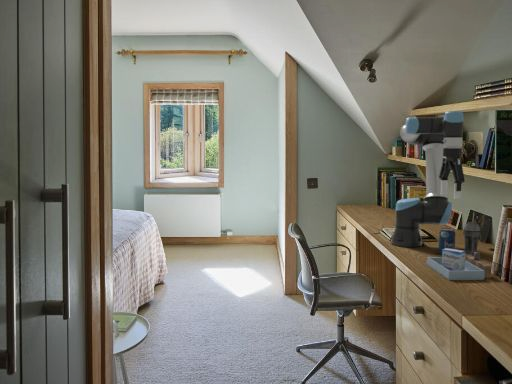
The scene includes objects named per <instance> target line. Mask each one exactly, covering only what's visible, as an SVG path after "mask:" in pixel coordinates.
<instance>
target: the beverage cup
mask: <svg viewBox="0 0 512 384" xmlns="http://www.w3.org/2000/svg"><path fill="white" fill-rule="evenodd" d="M474 219H475V212H474V211H473V213H472V219H471V220H472V221H468V222H467V223H465V224H464V227H463V234H464V251H466V254H465V255H472V256H474V252H478V244H479V237H480V234H481V227H480V225H479V224H478V223H477V222H475V221H474Z"/></svg>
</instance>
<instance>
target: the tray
mask: <svg viewBox="0 0 512 384" xmlns="http://www.w3.org/2000/svg"><path fill="white" fill-rule="evenodd" d="M426 267H429V268H430V269H431V270H433V271H434V272H436V273H437V274H438V275H440V276H442V277H443V278H444V277H445V279H446V281H478V280H479V281H484V280H485V278H484V275H485V271H484V270H482V269H480V268H479V267H477V266H475V265H473V264H471V263H469V262H468V261H466V260H465V271H450V270H448V269H447V268H445V267H443V266H442V256H441V257H439V256H438V257H434V256H431V257H429V256H428V257H426Z"/></svg>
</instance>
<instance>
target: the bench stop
mask: <svg viewBox="0 0 512 384" xmlns="http://www.w3.org/2000/svg"><path fill="white" fill-rule="evenodd" d="M480 256H481V255H480V252H479V251H477V252H474V256H472V255H465V260H466V261H468V262H469V263H471V264H473V265H475V266H477V267H479V268H480V269H482V270H484V271H485V275H484V279H491V278H492V264H490V263H487V262H485V261H483V260H482V259H480V258H481V257H480Z"/></svg>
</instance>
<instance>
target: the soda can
mask: <svg viewBox="0 0 512 384" xmlns="http://www.w3.org/2000/svg"><path fill="white" fill-rule="evenodd" d="M438 238H439V239H438V253H439V254H440V256H442V251H443V249H445V248H449V249H456V232H455V229H454V228H449V227H445V228H444V227H443V228H441V229H440V231H439V235H438Z"/></svg>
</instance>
